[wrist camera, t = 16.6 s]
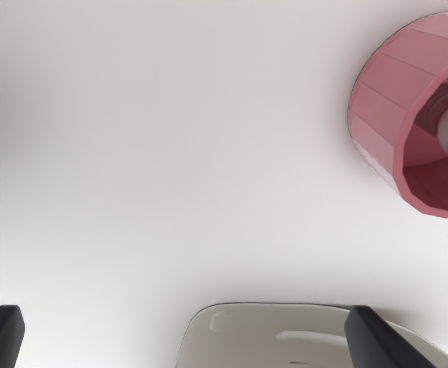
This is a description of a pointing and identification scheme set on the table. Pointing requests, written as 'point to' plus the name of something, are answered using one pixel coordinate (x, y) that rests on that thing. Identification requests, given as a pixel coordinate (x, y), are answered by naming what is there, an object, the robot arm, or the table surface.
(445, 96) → the lightbulb
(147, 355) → the table surface
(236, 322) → the beige plastic curved shell
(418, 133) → the mug
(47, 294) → the table surface
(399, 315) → the table surface
